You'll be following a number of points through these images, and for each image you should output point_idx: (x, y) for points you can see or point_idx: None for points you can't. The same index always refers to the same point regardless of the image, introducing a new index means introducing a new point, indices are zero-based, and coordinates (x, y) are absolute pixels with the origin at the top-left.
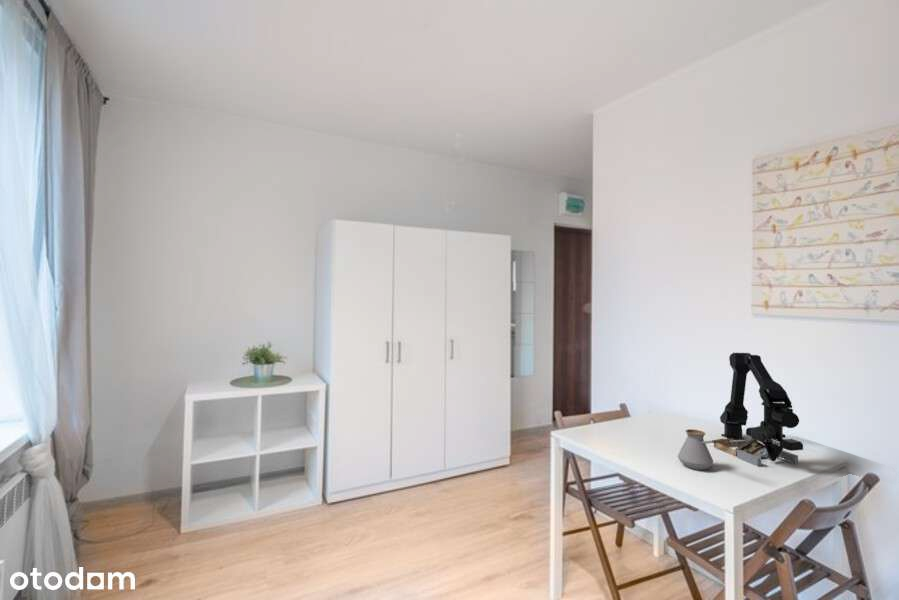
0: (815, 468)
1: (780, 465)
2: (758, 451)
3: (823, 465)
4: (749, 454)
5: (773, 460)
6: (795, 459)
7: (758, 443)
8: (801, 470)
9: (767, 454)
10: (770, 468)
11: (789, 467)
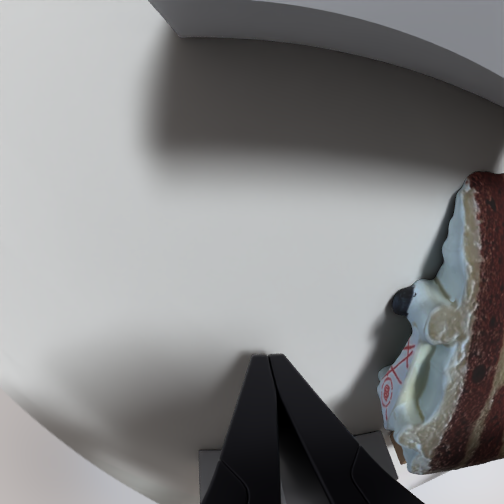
0: (112, 465)
1: (170, 352)
2: (462, 361)
3: (161, 496)
4: (479, 7)
5: (250, 366)
6: (200, 482)
7: (499, 444)
8: (53, 395)
9: (382, 407)
10: (73, 127)
11: (112, 379)
